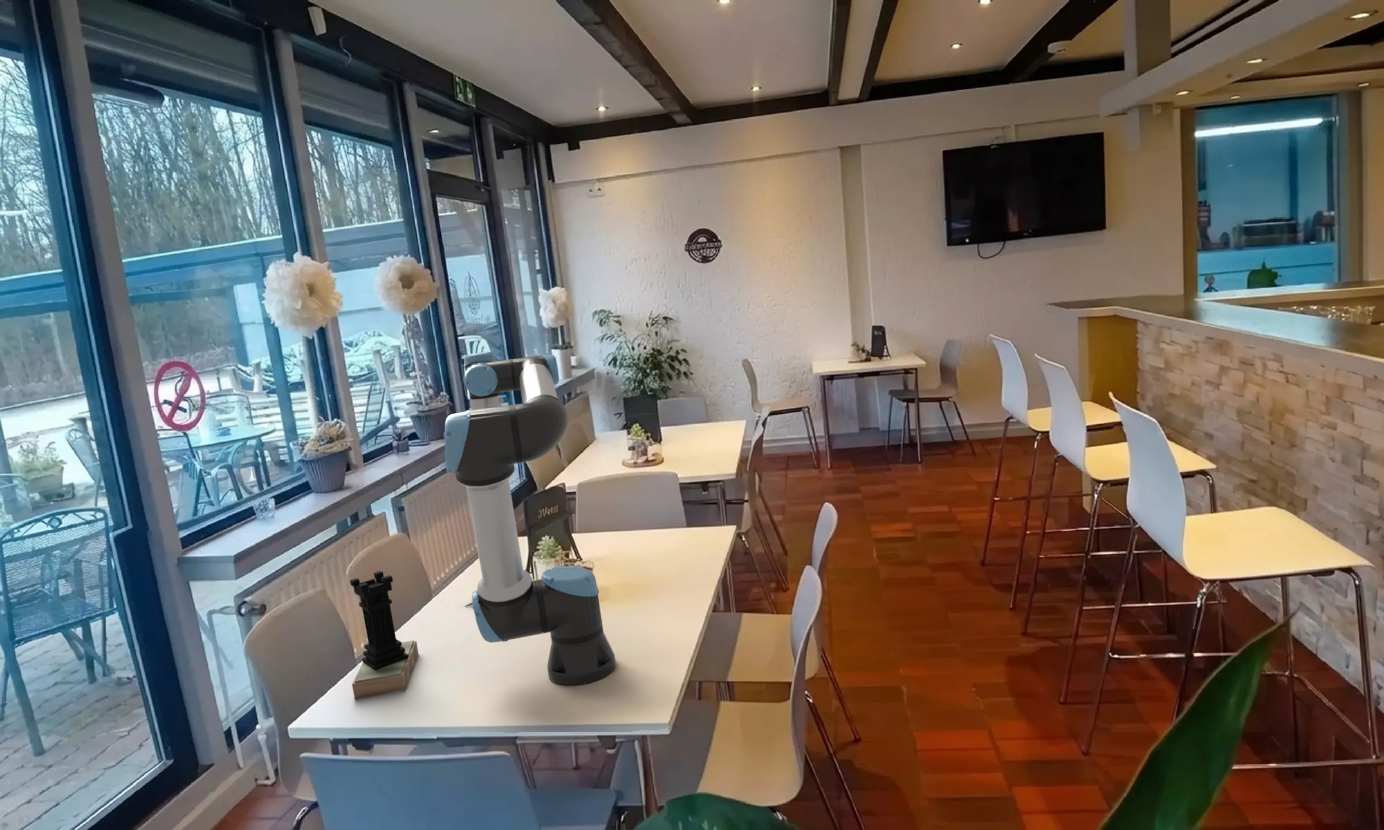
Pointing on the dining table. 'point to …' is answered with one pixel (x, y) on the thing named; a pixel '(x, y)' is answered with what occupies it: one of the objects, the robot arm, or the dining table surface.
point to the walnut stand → (386, 675)
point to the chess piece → (378, 622)
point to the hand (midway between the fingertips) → (500, 495)
